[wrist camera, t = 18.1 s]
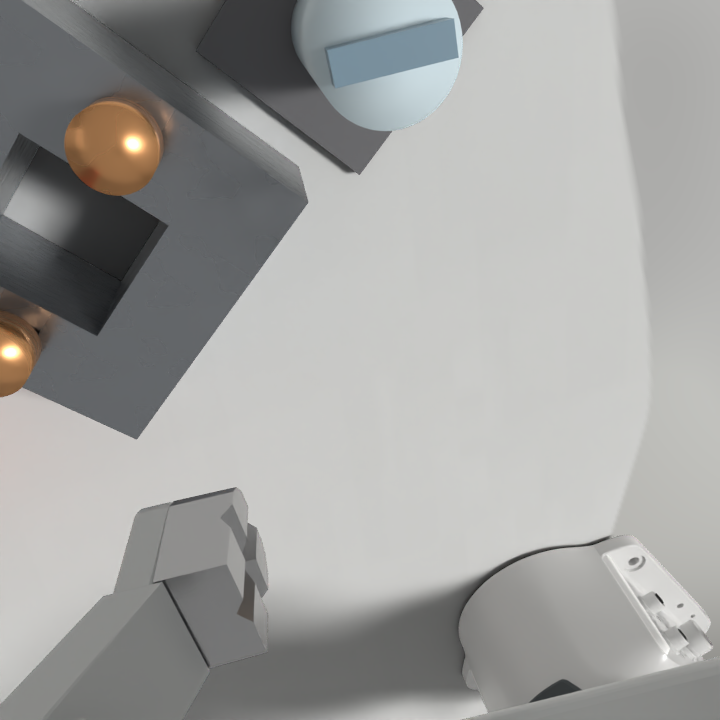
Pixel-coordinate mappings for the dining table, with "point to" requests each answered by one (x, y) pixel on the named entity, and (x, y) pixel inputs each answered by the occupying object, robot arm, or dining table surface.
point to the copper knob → (16, 352)
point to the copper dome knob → (114, 146)
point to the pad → (291, 73)
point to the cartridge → (380, 56)
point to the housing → (159, 198)
